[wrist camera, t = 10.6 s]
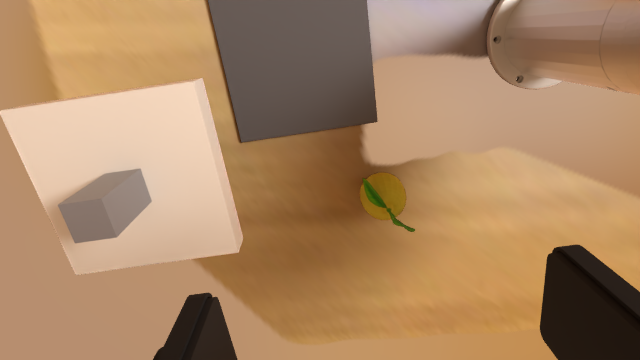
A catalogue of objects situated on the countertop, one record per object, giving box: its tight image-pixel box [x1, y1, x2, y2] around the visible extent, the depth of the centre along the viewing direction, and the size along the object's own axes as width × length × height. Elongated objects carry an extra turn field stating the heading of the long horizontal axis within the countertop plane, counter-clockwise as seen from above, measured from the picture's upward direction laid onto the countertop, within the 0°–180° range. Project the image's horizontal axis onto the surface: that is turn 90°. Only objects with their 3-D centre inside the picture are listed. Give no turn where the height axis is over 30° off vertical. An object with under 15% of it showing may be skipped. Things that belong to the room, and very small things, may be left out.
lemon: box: [360, 173, 415, 232], centre depth 44 cm, size 7×6×10 cm
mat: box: [208, 0, 377, 142], centre depth 42 cm, size 17×17×1 cm
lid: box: [0, 78, 243, 275], centre depth 29 cm, size 15×15×8 cm
